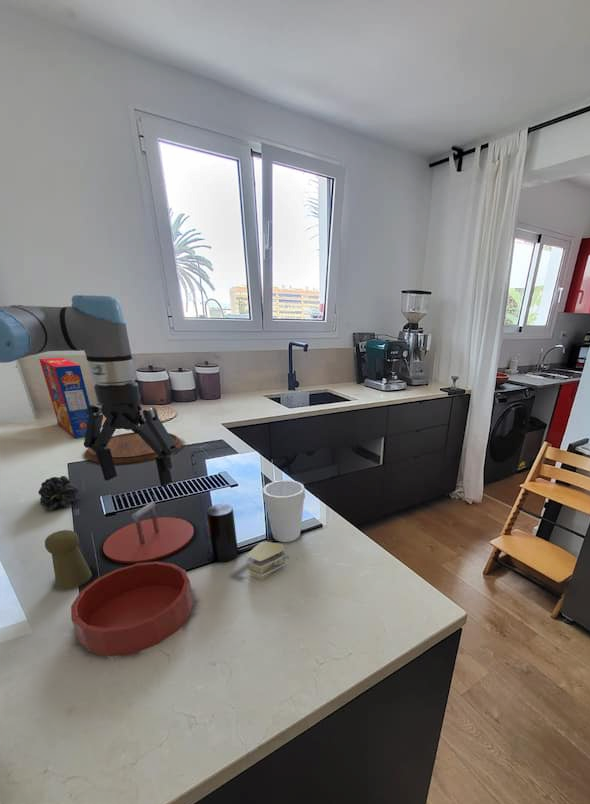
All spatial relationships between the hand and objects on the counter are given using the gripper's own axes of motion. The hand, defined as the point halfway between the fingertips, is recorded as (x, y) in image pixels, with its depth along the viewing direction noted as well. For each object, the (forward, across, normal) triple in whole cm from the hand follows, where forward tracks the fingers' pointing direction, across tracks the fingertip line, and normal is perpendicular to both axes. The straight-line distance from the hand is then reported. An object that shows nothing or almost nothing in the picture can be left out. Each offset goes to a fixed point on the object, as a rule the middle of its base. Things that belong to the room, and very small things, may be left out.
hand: (138, 481), depth 85 cm
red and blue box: (+15, -87, +70) cm, 113 cm away
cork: (+16, -5, -16) cm, 23 cm away
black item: (+16, +20, -2) cm, 25 cm away
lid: (+15, 0, 0) cm, 15 cm away
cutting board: (+16, -46, +54) cm, 73 cm away
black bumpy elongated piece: (+16, -36, +12) cm, 41 cm away
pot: (+16, +14, -22) cm, 30 cm away
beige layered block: (+16, +31, -5) cm, 35 cm away
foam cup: (+16, +30, +9) cm, 35 cm away
